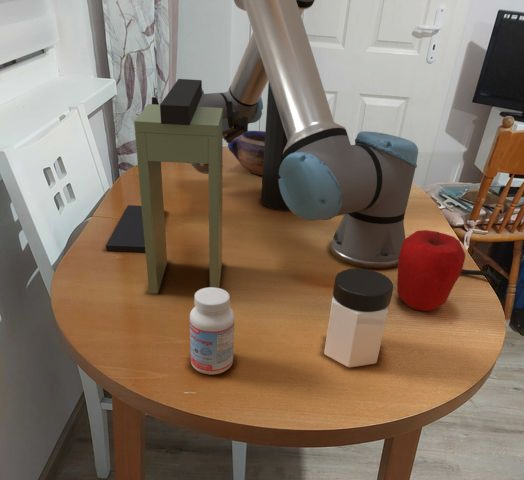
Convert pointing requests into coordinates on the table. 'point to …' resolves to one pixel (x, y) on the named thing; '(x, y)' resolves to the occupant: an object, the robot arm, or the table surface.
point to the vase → (273, 156)
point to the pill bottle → (211, 331)
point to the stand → (150, 179)
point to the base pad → (128, 232)
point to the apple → (428, 269)
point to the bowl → (249, 150)
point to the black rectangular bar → (181, 102)
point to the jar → (358, 316)
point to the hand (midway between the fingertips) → (191, 106)
